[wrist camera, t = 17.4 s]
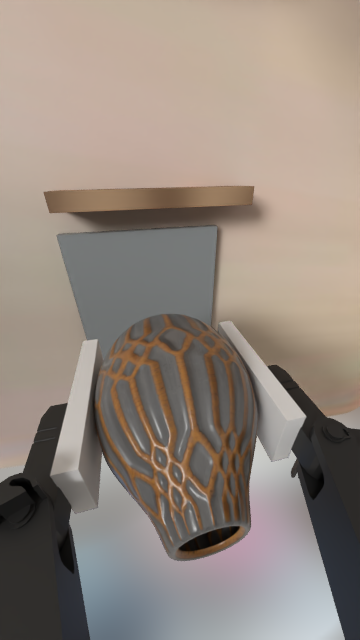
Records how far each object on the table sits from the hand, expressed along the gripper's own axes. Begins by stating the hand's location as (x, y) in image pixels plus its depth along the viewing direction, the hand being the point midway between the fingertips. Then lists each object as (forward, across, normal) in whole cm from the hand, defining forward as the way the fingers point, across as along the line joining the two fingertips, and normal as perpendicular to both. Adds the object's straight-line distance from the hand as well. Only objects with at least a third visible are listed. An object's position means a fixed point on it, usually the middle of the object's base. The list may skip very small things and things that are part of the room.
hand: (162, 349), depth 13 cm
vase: (0, 0, 0) cm, 0 cm away
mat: (+7, 0, 0) cm, 7 cm away
